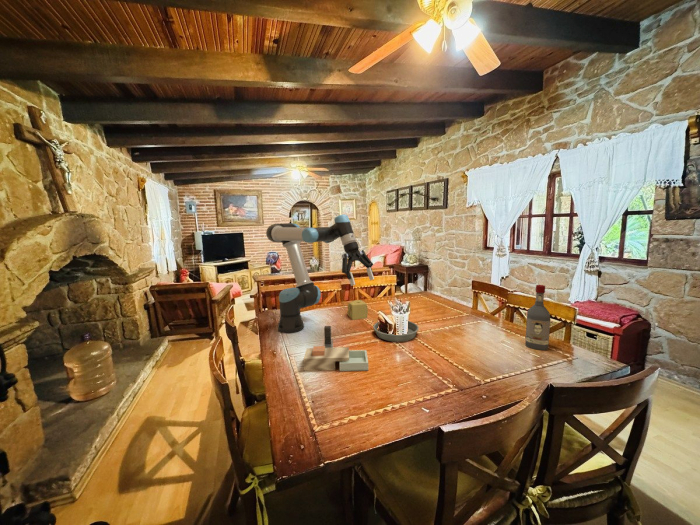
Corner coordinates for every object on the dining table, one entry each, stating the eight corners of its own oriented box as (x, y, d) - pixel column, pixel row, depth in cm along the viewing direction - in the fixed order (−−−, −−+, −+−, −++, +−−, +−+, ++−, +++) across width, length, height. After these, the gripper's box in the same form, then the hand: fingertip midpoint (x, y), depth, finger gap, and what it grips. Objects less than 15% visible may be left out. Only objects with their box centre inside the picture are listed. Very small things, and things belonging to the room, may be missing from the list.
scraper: (323, 355, 136) (322, 331, 134) (325, 346, 146) (324, 323, 144) (331, 355, 136) (331, 330, 134) (333, 346, 146) (332, 323, 144)
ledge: (304, 371, 122) (303, 358, 121) (307, 359, 132) (306, 348, 131) (349, 369, 122) (348, 357, 121) (349, 358, 132) (348, 347, 131)
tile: (312, 355, 124) (312, 351, 123) (313, 350, 129) (313, 346, 128) (324, 355, 124) (324, 351, 123) (325, 350, 129) (325, 346, 128)
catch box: (339, 371, 121) (339, 363, 120) (340, 357, 133) (340, 350, 132) (368, 370, 121) (368, 362, 121) (366, 357, 133) (366, 350, 132)
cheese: (347, 315, 193) (347, 301, 191) (362, 313, 196) (362, 299, 194) (352, 320, 183) (351, 305, 181) (368, 318, 186) (367, 303, 185)
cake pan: (403, 323, 176) (403, 316, 175) (427, 338, 153) (428, 330, 152) (366, 330, 167) (366, 322, 166) (386, 346, 144) (386, 338, 144)
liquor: (525, 340, 147) (529, 282, 143) (547, 344, 142) (551, 284, 138) (525, 347, 139) (529, 286, 135) (548, 351, 134) (553, 288, 130)
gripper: (335, 243, 139) (349, 285, 136) (371, 238, 156) (384, 275, 153) (327, 249, 145) (340, 289, 142) (362, 243, 161) (374, 279, 158)
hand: (363, 282), depth 147 cm, fingers open, 13 cm apart
